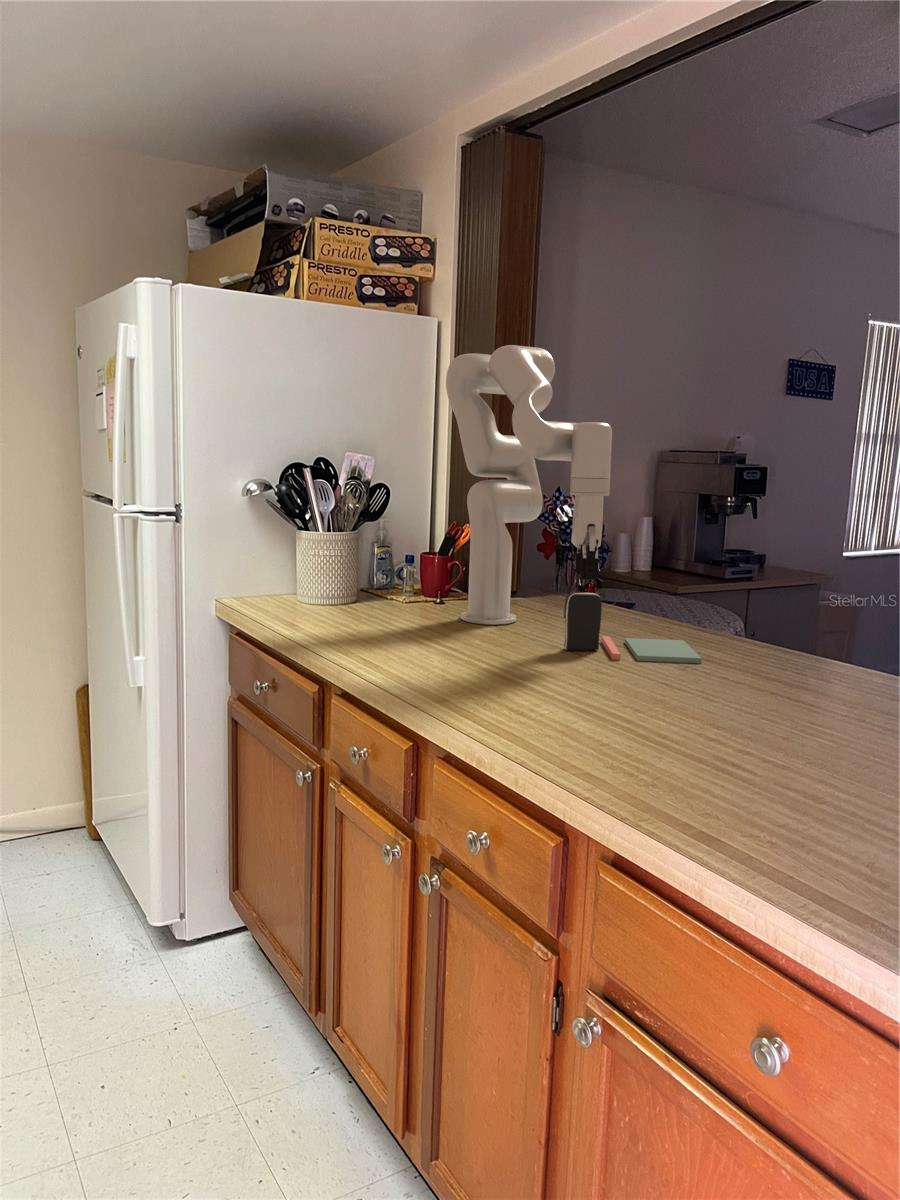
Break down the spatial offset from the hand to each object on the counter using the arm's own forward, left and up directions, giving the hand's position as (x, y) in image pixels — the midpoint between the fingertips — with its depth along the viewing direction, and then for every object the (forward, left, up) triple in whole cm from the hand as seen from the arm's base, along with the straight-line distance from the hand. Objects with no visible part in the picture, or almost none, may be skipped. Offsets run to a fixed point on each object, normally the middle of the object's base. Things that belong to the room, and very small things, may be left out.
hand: (586, 576), depth 178 cm
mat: (-1, +16, -15) cm, 21 cm away
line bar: (-1, +6, -15) cm, 16 cm away
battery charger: (-1, 0, -15) cm, 15 cm away
